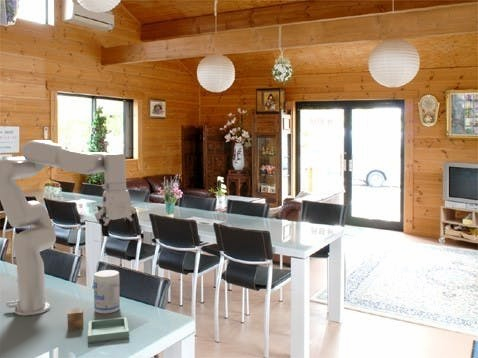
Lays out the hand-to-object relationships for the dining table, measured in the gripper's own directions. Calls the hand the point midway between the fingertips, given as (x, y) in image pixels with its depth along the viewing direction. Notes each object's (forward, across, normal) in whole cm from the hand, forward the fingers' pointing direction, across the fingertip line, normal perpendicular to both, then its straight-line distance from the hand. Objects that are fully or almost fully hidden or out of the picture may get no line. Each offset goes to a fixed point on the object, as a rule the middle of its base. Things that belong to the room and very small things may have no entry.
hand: (116, 233), depth 173 cm
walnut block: (+32, -14, +6) cm, 36 cm away
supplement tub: (+32, +3, +11) cm, 34 cm away
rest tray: (+32, -10, -8) cm, 35 cm away
